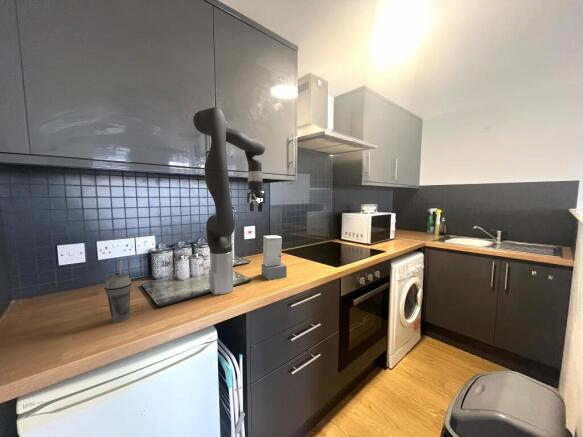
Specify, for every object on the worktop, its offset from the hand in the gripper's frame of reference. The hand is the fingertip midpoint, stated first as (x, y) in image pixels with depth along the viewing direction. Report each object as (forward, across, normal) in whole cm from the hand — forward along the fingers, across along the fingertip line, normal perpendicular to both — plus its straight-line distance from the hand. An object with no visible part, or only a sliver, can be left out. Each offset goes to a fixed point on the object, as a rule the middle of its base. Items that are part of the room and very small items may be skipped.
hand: (255, 211), depth 124 cm
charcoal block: (+33, +11, +3) cm, 35 cm away
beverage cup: (+33, +13, -61) cm, 71 cm away
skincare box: (+27, +10, +3) cm, 29 cm away
